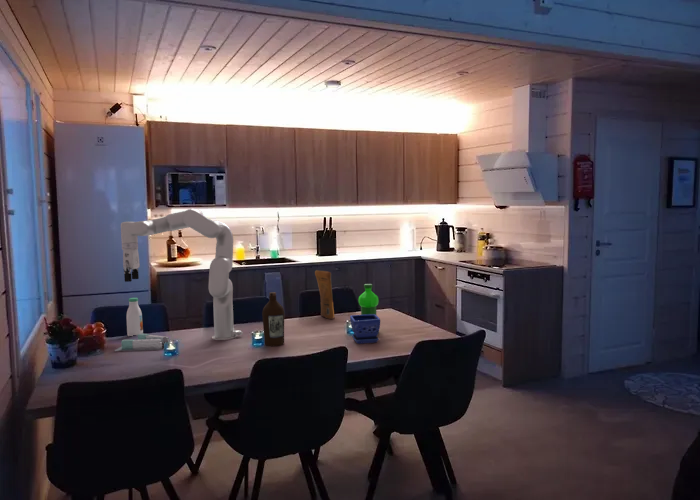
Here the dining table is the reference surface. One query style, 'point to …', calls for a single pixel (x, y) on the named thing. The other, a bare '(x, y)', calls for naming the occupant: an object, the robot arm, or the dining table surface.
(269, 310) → the olive oil
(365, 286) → the plastic bottle
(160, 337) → the toothpaste tube
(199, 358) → the dining table surface
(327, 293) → the pancake mix bag
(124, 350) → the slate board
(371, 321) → the flower pot
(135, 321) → the milk bottle
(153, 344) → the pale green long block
